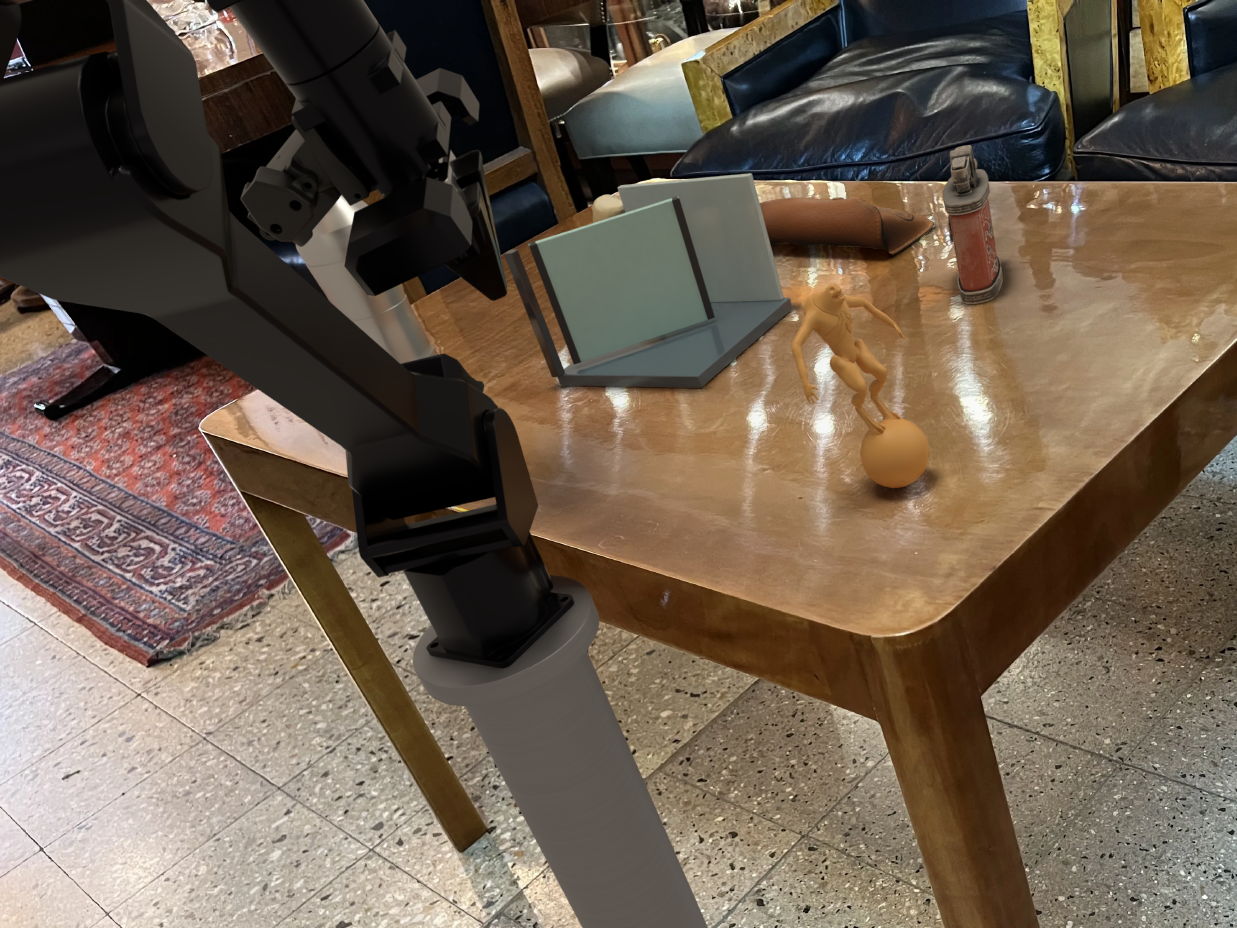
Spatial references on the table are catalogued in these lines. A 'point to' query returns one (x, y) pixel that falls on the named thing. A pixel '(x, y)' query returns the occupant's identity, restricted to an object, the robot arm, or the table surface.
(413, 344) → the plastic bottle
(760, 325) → the shower stall
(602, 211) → the cream rounded block
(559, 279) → the shower door
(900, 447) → the figurine
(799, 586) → the table surface
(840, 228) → the sunglasses case
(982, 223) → the lighter
